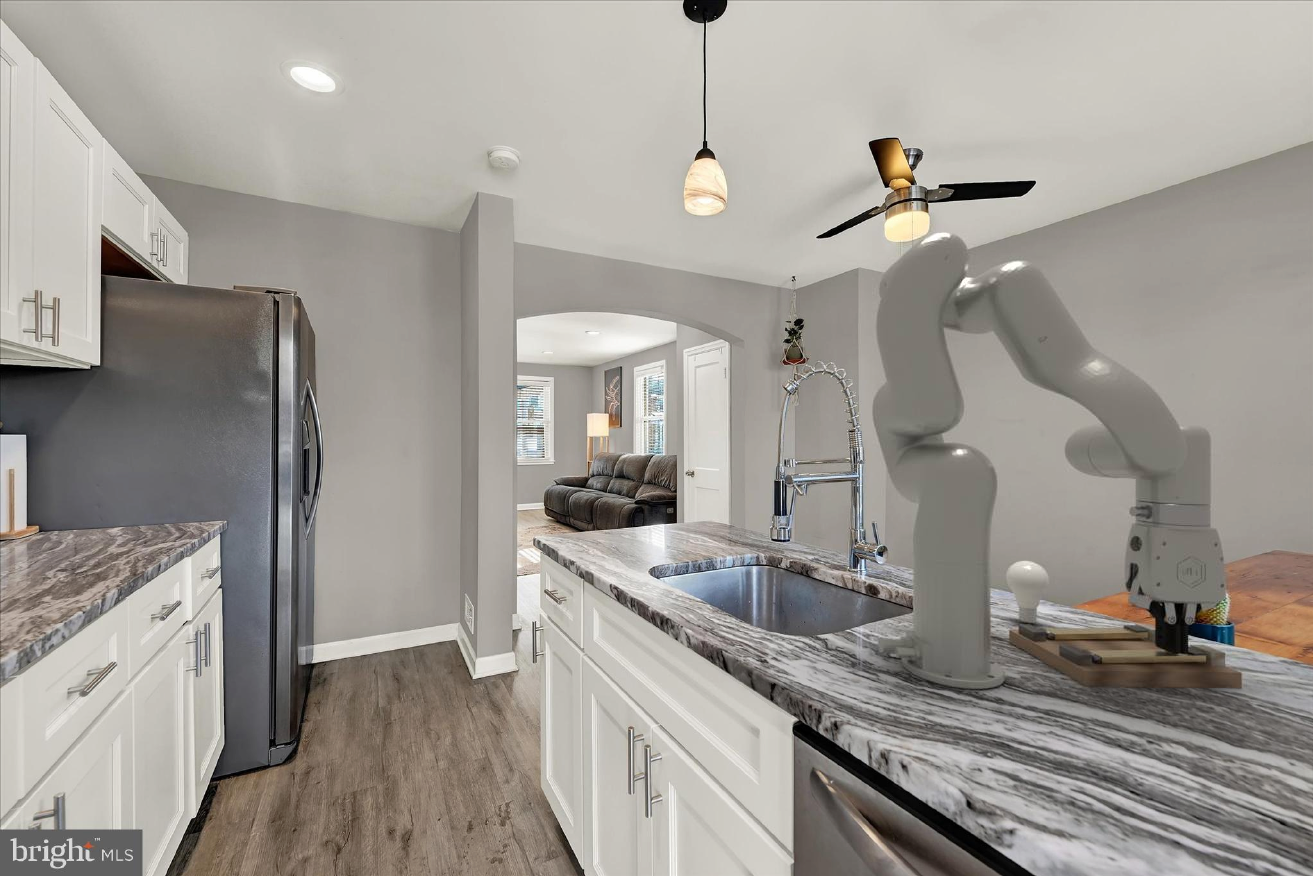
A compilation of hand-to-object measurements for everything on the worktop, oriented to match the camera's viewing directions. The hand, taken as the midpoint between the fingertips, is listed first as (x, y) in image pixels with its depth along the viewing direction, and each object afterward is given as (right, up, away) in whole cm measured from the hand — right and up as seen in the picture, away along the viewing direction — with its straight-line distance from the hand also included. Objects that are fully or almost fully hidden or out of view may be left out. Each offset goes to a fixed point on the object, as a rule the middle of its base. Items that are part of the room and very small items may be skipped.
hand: (1171, 650), depth 75 cm
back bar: (-4, -1, +9) cm, 10 cm away
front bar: (-4, -1, 0) cm, 4 cm away
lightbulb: (-5, -4, +22) cm, 23 cm away
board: (-4, -4, +5) cm, 7 cm away
